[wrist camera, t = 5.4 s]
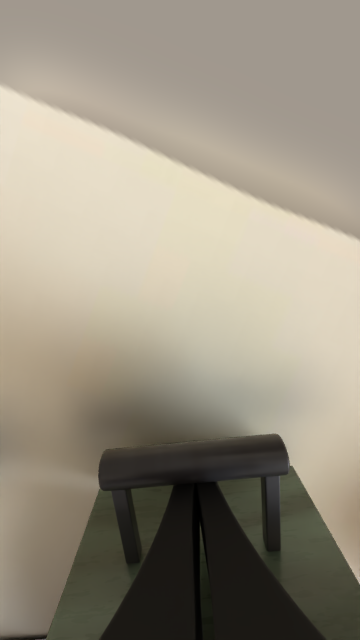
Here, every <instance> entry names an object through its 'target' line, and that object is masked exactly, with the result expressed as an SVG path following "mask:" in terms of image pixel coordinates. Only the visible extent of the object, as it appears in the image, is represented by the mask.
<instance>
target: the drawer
mask: <svg viewBox="0 0 360 640" xmlns="http://www.w3.org/2000/svg"><path fill="white" fill-rule="evenodd" d="M98 477H99V486H100V489H99V492H98V495H97V498H96V501H95V503H94V506H93V509H92V512H91V515H90V517H89V520H88V523H87V526H86V529H85V531H84V534H83V537H82V540H81V543H80V546H79V548H78V551H77V554H76V557H75V560H74V562H73V565H72V568H71V571H70V574H69V576H68V579H67V582H66V585H65V588H64V590H63V593H62V596H61V599H60V602H59V604H58V607H57V610H56V613H55V616H54V618H53V621H52V624H51V627H50V630H49V633H48V635H47V638H46V640H99V638H100V637H101V635H102V634H103V632H104V631H105V629H106V628H107V626H108V624H109V623H110V621H111V619H112V618H113V616H114V614H115V613H116V611H117V609H118V607H119V606H120V604H121V602H122V601H123V599H124V597H125V595H126V594H127V592H128V590H129V588H130V587H131V585H132V583H133V581H134V579H135V577H136V575H137V573H138V571H139V569H140V567H141V565H142V563H143V561H144V559H145V557H146V555H147V553H148V551H149V549H150V547H151V545H152V542H153V540H154V538H155V536H156V533H157V531H158V528H159V526H160V523H161V521H162V518H163V515H164V513H165V510H166V507H167V505H168V502H169V498H170V495H171V492H172V489H173V486H174V485H182V484H193V483H204V482H215V481H217V483H218V485H219V487H220V489H221V491H222V493H223V495H224V497H225V499H226V501H227V503H228V505H229V507H230V509H231V511H232V512H233V514H234V516H235V518H236V519H237V521H238V523H239V524H240V526H241V528H242V529H243V531H244V533H245V534H246V536H247V537H248V539H249V540H250V542H251V543H252V545H253V547H254V548H255V549H256V551H257V552H258V554H259V555H260V557H261V558H262V560H263V561H264V562H265V564H266V565H267V567H268V568H269V569H270V571H271V572H272V573H273V575H274V576H275V577H276V579H277V580H278V581H279V582H280V584H281V585H282V586H283V588H284V589H285V590H286V592H287V593H288V594H289V596H290V597H291V598H292V599H293V600H294V602H295V603H296V604H297V605H298V607H299V608H300V609H301V610H302V612H303V613H304V614H305V615H306V616H307V617H308V619H309V620H310V621H311V622H312V623H313V625H314V626H315V627H316V628H317V629H318V630H319V631H320V633H321V634H322V635H323V636H324V637H325V638H326V639H327V640H360V584H359V582H358V581H357V579H356V577H355V575H354V574H353V572H352V570H351V568H350V567H349V565H348V563H347V561H346V560H345V558H344V556H343V554H342V552H341V551H340V549H339V547H338V545H337V544H336V542H335V540H334V538H333V537H332V535H331V533H330V531H329V530H328V528H327V526H326V524H325V522H324V521H323V519H322V517H321V515H320V514H319V512H318V510H317V508H316V507H315V505H314V503H313V501H312V500H311V498H310V496H309V494H308V493H307V491H306V489H305V487H304V485H303V484H302V482H301V480H300V478H299V477H298V475H297V473H296V471H295V470H294V468H293V466H290V464H289V457H288V453H287V450H286V447H285V444H284V442H283V440H282V439H281V437H280V436H279V435H278V434H267V435H256V436H245V437H234V438H224V439H213V440H202V441H191V442H181V443H170V444H159V445H148V446H137V447H127V448H116V449H107V450H105V451H104V452H103V454H102V457H101V460H100V464H99V474H98ZM200 594H201V614H202V628H203V640H215V632H214V622H213V611H212V601H211V590H210V582H209V576H208V569H207V563H206V557H205V551H204V544H203V538H202V532H201V526H200Z"/></svg>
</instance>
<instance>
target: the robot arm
mask: <svg viewBox="0 0 360 640" xmlns="http://www.w3.org/2000/svg"><path fill="white" fill-rule="evenodd" d="M200 526H201V532H202V538H203V544H204V551H205V557H206V563H207V569H208V576H209V582H210V590H211V601H212V611H213V622H214V632H215V640H327V639H326V638H325V637H324V636H323V635H322V634H321V633H320V631H319V630H318V629H317V628H316V627H315V626H314V625H313V623H312V622H311V621H310V620H309V619H308V617H307V616H306V615H305V614H304V613H303V612H302V610H301V609H300V608H299V607H298V605H297V604H296V603H295V602H294V600H293V599H292V598H291V597H290V596H289V594H288V593H287V592H286V590H285V589H284V588H283V586H282V585H281V584H280V582H279V581H278V580H277V579H276V577H275V576H274V575H273V573H272V572H271V571H270V569H269V568H268V567H267V565H266V564H265V562H264V561H263V560H262V558H261V557H260V555H259V554H258V552H257V551H256V549H255V548H254V547H253V545H252V543H251V542H250V540H249V539H248V537H247V536H246V534H245V533H244V531H243V529H242V528H241V526H240V524H239V523H238V521H237V519H236V518H235V516H234V514H233V512H232V511H231V509H230V507H229V505H228V503H227V501H226V499H225V497H224V495H223V493H222V491H221V489H220V487H219V485H218V483H217V481H215V482H204V483H193V484H182V485H174V486H173V489H172V492H171V495H170V498H169V502H168V505H167V507H166V510H165V513H164V515H163V518H162V521H161V523H160V526H159V528H158V531H157V533H156V536H155V538H154V540H153V542H152V545H151V547H150V549H149V551H148V553H147V555H146V557H145V559H144V561H143V563H142V565H141V567H140V569H139V571H138V573H137V575H136V577H135V579H134V581H133V583H132V585H131V587H130V588H129V590H128V592H127V594H126V595H125V597H124V599H123V601H122V602H121V604H120V606H119V607H118V609H117V611H116V613H115V614H114V616H113V618H112V619H111V621H110V623H109V624H108V626H107V628H106V629H105V631H104V632H103V634H102V635H101V637H100V638H99V640H203V628H202V614H201V594H200ZM37 640H46V639H37Z"/></svg>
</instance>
